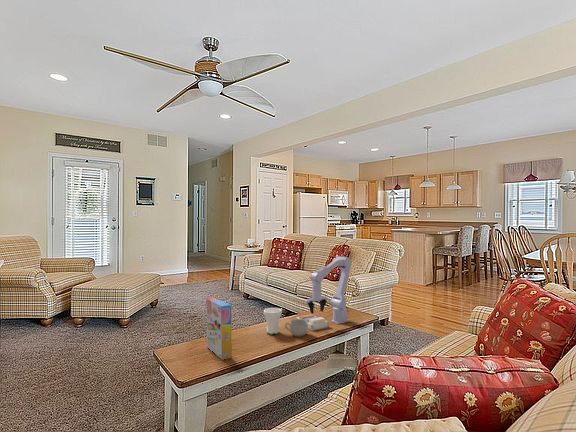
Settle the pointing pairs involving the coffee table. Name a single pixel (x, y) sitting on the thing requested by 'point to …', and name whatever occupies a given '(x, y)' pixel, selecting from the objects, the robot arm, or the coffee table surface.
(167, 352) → the coffee table surface
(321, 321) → the ivory key
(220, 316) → the game box
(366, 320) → the coffee table surface
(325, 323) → the cream drawer frame
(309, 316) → the terracotta key
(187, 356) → the coffee table surface
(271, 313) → the cup
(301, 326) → the teacup
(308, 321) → the slate key
